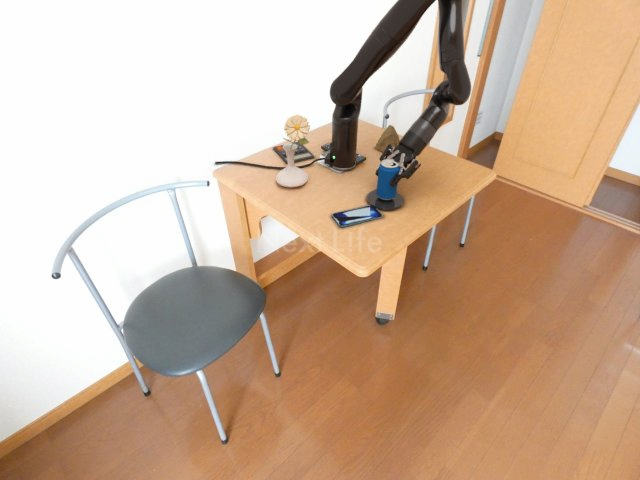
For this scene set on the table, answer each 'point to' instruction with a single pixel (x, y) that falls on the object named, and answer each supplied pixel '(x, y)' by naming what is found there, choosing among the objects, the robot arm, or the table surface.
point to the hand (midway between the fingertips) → (384, 180)
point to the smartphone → (356, 216)
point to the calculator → (299, 154)
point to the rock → (388, 139)
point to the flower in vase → (297, 131)
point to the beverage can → (387, 179)
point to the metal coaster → (384, 202)
